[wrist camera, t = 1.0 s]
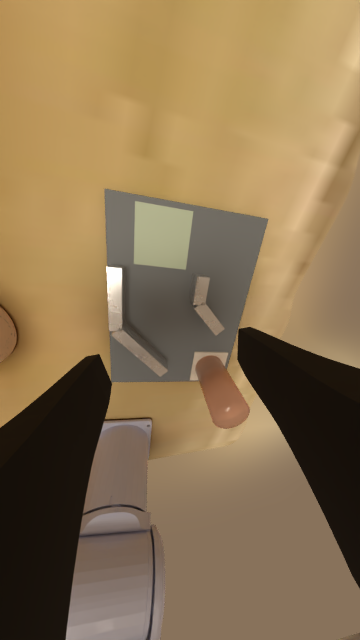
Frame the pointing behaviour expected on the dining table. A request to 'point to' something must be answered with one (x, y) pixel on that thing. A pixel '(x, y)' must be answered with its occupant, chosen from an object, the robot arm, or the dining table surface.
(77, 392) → the robot arm
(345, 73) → the dining table surface
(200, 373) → the peg
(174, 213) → the board
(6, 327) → the teacup with lid
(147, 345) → the rails
